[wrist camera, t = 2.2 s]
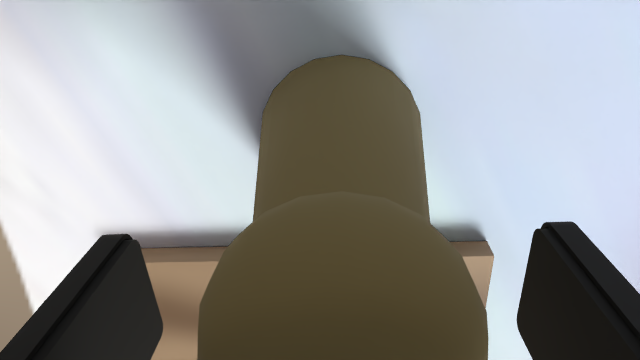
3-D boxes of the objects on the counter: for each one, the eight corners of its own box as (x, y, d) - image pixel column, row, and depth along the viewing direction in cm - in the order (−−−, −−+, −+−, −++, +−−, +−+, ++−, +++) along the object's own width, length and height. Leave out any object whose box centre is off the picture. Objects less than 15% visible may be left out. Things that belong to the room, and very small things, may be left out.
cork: (284, 30, 14) (169, 203, 5) (449, 86, 15) (644, 336, 5) (244, 180, 17) (122, 479, 8) (385, 221, 18) (438, 544, 8)
